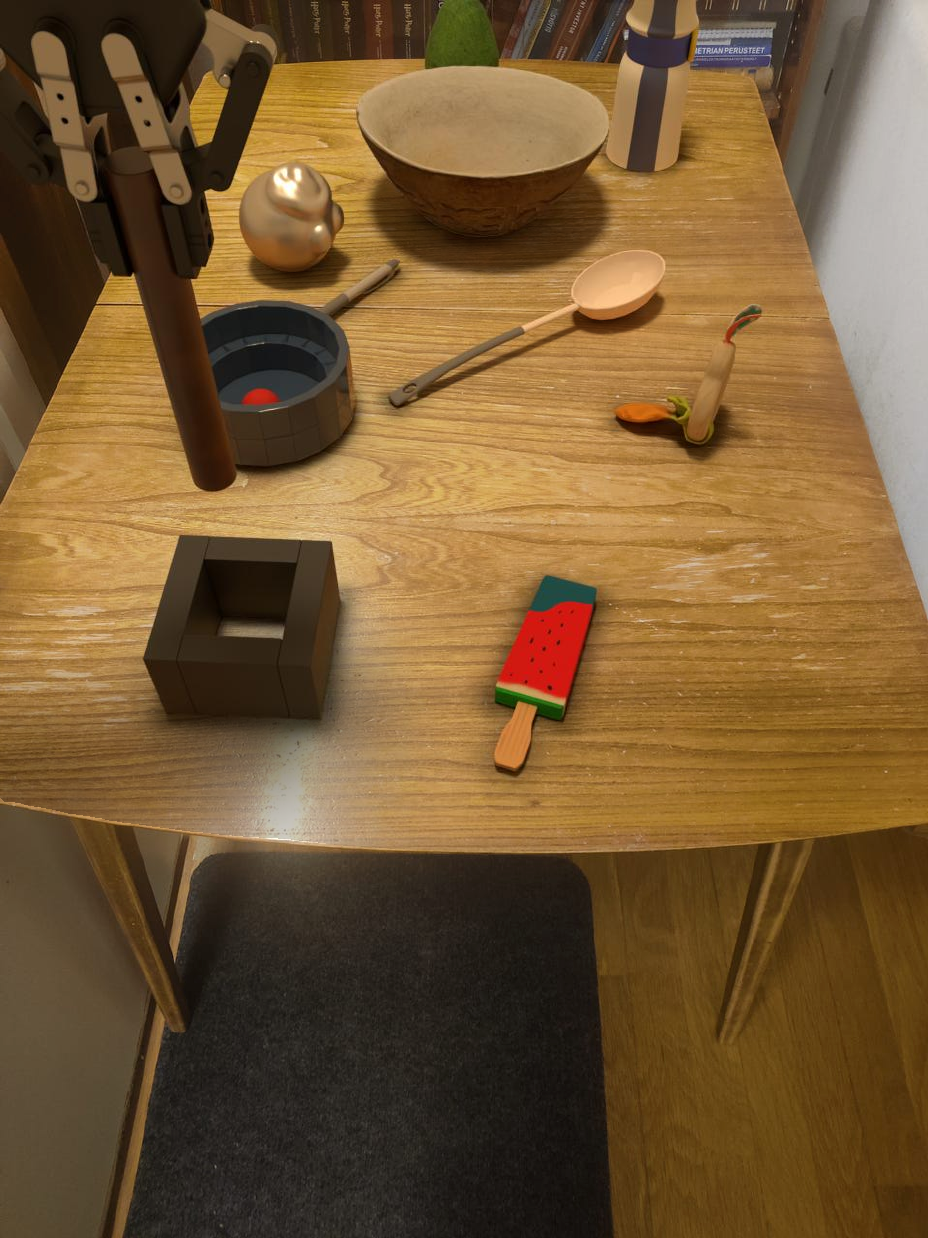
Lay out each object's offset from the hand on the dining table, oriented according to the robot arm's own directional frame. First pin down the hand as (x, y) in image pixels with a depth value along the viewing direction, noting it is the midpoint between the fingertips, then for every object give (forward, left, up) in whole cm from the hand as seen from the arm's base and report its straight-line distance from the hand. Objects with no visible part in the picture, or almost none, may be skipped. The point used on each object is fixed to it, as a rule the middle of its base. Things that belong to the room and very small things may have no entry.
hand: (160, 266), depth 45 cm
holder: (0, -1, -28) cm, 28 cm away
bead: (-3, +21, -26) cm, 34 cm away
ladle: (+18, +33, -29) cm, 47 cm away
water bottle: (+30, +67, -29) cm, 79 cm away
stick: (0, 0, -13) cm, 13 cm away
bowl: (+13, +55, -29) cm, 63 cm away
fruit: (+10, +76, -29) cm, 82 cm away
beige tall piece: (+30, +24, -29) cm, 48 cm away
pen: (+2, +38, -29) cm, 48 cm away
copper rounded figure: (-4, +44, -29) cm, 53 cm away
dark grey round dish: (-3, +23, -28) cm, 37 cm away
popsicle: (+19, -2, -29) cm, 34 cm away
